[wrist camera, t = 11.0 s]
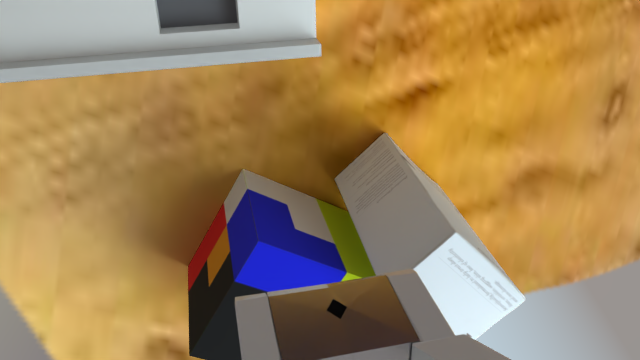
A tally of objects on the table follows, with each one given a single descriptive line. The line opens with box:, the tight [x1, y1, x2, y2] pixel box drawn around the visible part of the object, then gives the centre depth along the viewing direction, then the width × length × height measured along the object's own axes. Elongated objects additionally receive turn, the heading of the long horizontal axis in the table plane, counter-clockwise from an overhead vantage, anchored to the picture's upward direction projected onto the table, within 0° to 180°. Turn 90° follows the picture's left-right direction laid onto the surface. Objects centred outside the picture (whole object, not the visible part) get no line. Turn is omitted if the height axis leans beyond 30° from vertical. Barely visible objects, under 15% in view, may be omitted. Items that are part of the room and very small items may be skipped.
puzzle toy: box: [188, 169, 376, 360], centre depth 42 cm, size 10×10×10 cm
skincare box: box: [334, 133, 526, 340], centre depth 39 cm, size 8×6×15 cm
